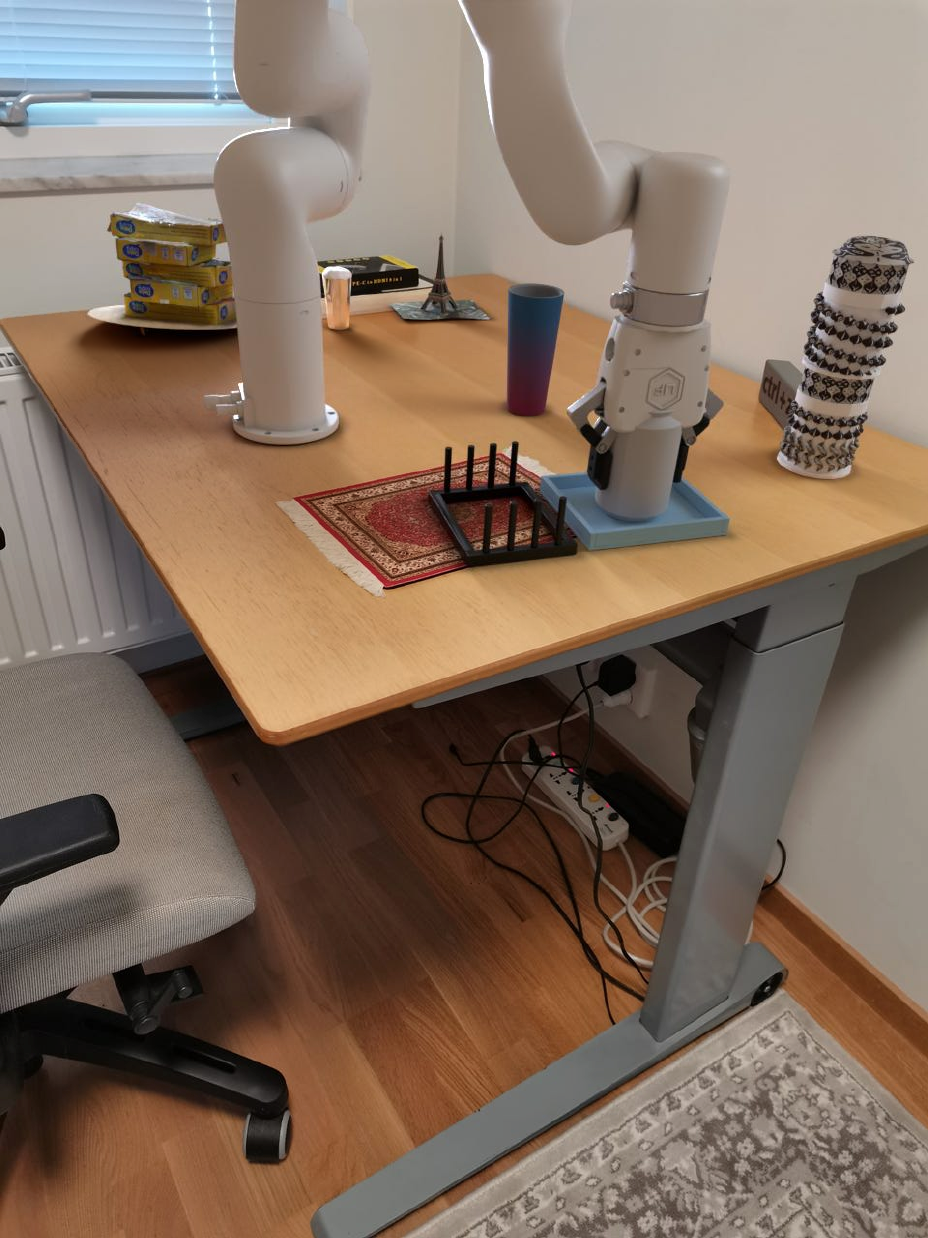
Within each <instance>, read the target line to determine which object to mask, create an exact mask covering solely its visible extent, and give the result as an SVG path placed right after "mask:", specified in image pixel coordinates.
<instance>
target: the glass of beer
mask: <svg viewBox="0 0 928 1238" xmlns="http://www.w3.org/2000/svg"><path fill="white" fill-rule="evenodd" d="M356 265H357V262H356V261H355V264H354V268H353V270H352V272H351V271H350V270H349V269H348V268H345V267H342V266H340V265H339V266H327V267H326V268H325V269H324V270H323V271H322V273H321V278H322V287H323V293H324V302H325V311H326V319H327V327H328V329H331V330H335V331H336V330H337V331H342V330H343V331H344V330H346V329H349V328H350V309H351V307H350V306H351V290H352V278H353V277H352V275H353V273H354V270H355V267H356Z"/></svg>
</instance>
